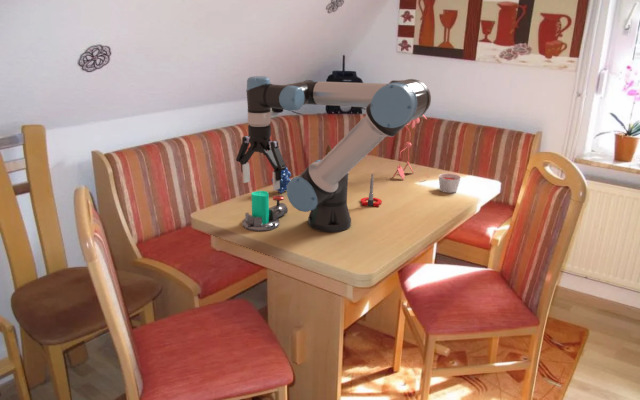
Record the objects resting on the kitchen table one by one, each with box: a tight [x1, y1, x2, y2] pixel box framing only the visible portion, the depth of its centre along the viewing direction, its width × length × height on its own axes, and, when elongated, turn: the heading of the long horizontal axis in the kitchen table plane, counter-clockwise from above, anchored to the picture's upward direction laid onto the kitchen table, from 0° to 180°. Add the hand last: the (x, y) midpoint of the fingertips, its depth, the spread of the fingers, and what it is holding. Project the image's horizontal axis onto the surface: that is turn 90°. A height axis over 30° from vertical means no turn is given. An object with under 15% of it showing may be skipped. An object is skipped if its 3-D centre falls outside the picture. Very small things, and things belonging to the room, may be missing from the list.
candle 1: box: [251, 190, 270, 224], centre depth 190 cm, size 6×6×12 cm
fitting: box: [241, 194, 289, 232], centre depth 193 cm, size 13×19×8 cm
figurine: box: [386, 114, 429, 183], centre depth 243 cm, size 15×26×35 cm, turn 146°
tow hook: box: [360, 173, 383, 208], centre depth 214 cm, size 8×13×9 cm
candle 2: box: [438, 172, 461, 194], centre depth 231 cm, size 9×9×6 cm
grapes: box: [271, 166, 292, 194], centre depth 222 cm, size 12×7×12 cm, turn 145°
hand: (261, 185), depth 187 cm, fingers open, 13 cm apart
